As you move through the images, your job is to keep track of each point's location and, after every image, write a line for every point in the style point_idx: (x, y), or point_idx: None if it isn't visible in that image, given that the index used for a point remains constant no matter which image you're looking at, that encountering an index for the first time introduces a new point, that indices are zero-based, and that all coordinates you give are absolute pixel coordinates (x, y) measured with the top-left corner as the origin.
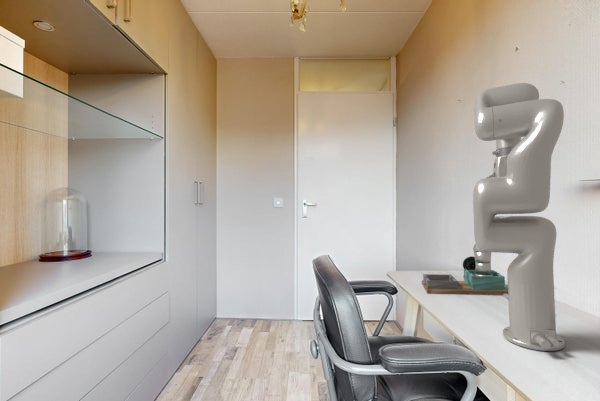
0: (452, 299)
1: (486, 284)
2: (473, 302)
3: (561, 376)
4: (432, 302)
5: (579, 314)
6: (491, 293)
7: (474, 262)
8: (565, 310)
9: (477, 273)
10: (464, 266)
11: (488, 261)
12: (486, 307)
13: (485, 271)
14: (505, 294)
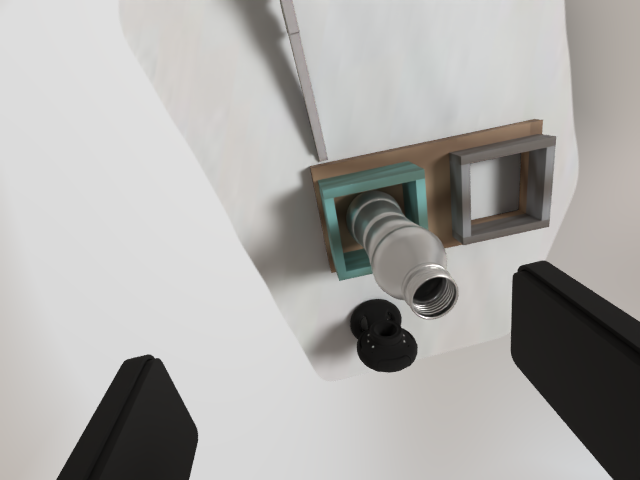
0: (474, 75)
1: (373, 173)
2: (420, 59)
3: None
4: (539, 21)
5: (153, 17)
6: (356, 157)
7: (387, 338)
8: (183, 50)
9: (400, 210)
10: (410, 334)
11: (378, 223)
12: (393, 13)
13: (380, 205)
14: (323, 139)
